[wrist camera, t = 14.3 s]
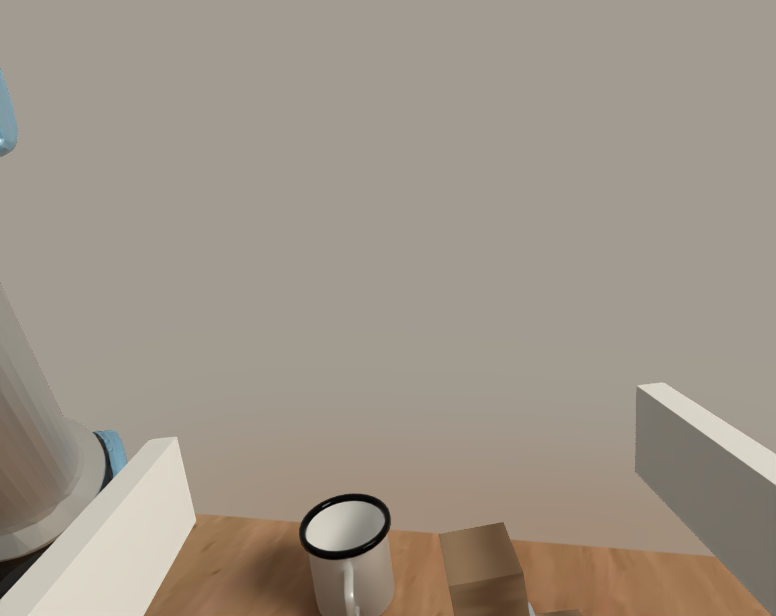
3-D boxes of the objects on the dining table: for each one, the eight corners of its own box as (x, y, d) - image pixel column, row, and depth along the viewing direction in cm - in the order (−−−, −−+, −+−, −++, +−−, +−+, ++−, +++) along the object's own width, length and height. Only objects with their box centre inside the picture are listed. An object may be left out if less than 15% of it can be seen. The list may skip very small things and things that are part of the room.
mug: (314, 568, 54) (302, 500, 52) (395, 555, 55) (386, 486, 53) (306, 667, 43) (290, 583, 41) (409, 648, 43) (398, 565, 41)
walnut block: (471, 702, 33) (448, 586, 31) (459, 638, 38) (438, 534, 36) (541, 690, 33) (523, 572, 31) (520, 627, 38) (503, 522, 36)
